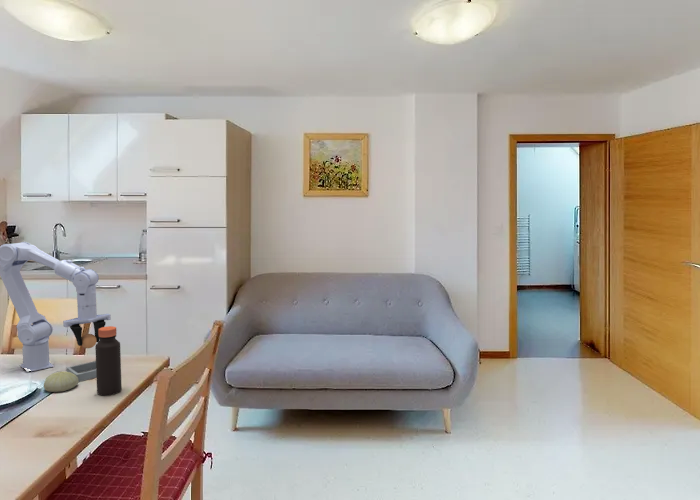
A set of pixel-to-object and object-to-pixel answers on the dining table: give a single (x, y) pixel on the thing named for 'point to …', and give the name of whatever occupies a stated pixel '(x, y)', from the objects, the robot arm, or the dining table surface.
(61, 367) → the dining table surface
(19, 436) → the dining table surface
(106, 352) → the bottle
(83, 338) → the ball
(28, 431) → the dining table surface
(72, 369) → the corral
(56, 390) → the sea urchin shell
